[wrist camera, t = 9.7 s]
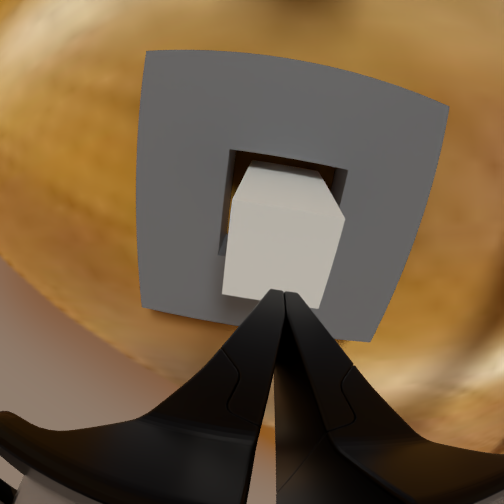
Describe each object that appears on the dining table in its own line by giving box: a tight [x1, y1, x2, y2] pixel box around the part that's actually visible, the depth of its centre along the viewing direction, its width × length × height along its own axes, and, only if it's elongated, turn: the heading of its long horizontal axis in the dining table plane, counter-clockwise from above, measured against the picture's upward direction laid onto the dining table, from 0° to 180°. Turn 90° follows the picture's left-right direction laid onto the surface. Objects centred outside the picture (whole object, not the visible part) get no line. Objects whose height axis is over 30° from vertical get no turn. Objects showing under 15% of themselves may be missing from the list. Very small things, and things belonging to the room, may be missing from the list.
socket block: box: [136, 50, 449, 342], centre depth 17 cm, size 16×16×3 cm
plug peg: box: [222, 160, 345, 309], centre depth 15 cm, size 4×4×8 cm
